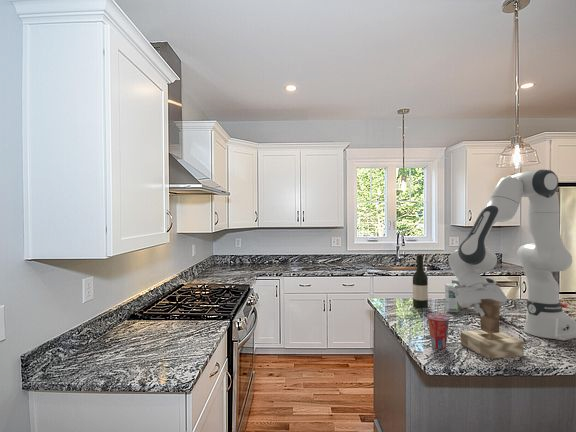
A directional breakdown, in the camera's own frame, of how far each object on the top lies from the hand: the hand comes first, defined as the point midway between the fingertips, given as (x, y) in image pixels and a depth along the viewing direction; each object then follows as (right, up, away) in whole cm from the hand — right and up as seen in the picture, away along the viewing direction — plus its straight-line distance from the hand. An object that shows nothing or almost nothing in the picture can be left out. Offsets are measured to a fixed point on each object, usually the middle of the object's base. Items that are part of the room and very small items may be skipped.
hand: (491, 315), depth 137 cm
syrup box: (+11, -14, +56) cm, 59 cm away
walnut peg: (0, -6, +1) cm, 6 cm away
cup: (-19, -14, +4) cm, 24 cm away
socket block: (0, -13, +1) cm, 13 cm away
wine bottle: (-2, -14, +67) cm, 68 cm away
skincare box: (+19, -13, +64) cm, 68 cm away
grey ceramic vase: (+25, -13, +47) cm, 55 cm away
